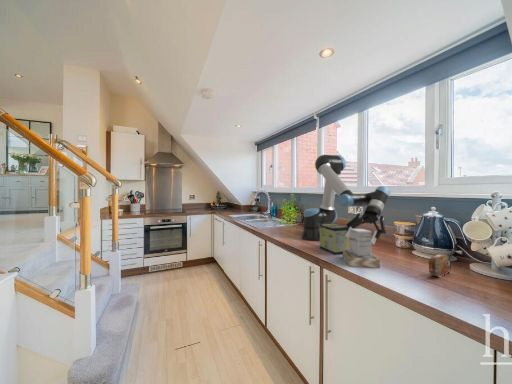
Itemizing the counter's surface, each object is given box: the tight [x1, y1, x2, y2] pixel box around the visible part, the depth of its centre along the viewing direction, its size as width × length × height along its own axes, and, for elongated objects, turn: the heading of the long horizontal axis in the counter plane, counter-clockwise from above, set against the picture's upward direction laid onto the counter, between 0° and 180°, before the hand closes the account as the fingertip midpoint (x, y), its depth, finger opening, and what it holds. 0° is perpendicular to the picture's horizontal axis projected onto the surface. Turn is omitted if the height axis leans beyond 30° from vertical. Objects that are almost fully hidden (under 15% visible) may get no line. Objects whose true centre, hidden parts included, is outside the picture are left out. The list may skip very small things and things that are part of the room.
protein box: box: [319, 223, 350, 255], centre depth 127 cm, size 10×16×16 cm
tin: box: [428, 253, 452, 278], centre depth 90 cm, size 15×3×8 cm, turn 117°
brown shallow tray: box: [342, 249, 381, 269], centre depth 107 cm, size 14×14×4 cm
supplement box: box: [349, 228, 372, 256], centre depth 106 cm, size 7×7×13 cm
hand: (358, 240), depth 106 cm, fingers open, 13 cm apart
